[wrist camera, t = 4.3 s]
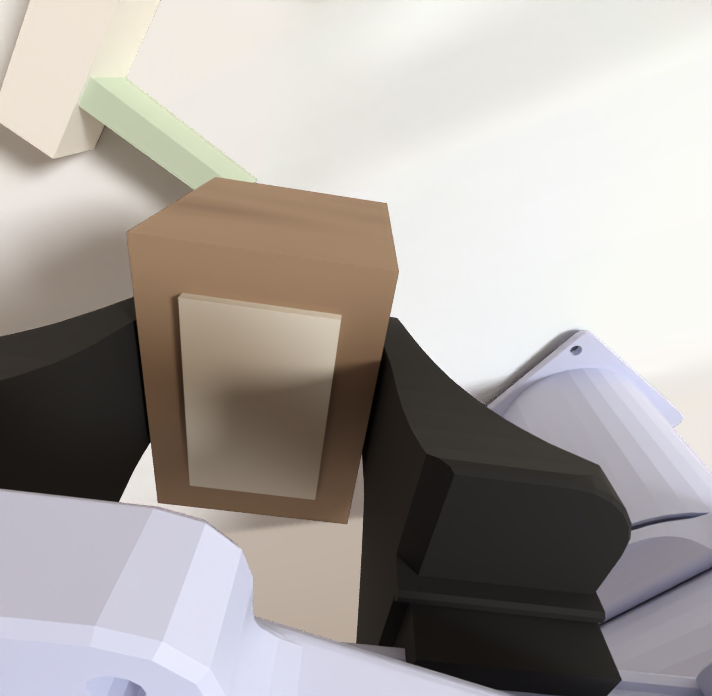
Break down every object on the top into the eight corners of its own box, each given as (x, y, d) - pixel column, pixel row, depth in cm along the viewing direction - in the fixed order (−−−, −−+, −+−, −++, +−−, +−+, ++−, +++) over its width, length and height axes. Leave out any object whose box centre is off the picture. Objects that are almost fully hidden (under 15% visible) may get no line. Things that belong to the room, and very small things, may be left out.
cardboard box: (352, 398, 15) (346, 531, 11) (218, 381, 15) (154, 509, 10) (387, 203, 12) (399, 276, 7) (215, 177, 12) (120, 235, 7)
